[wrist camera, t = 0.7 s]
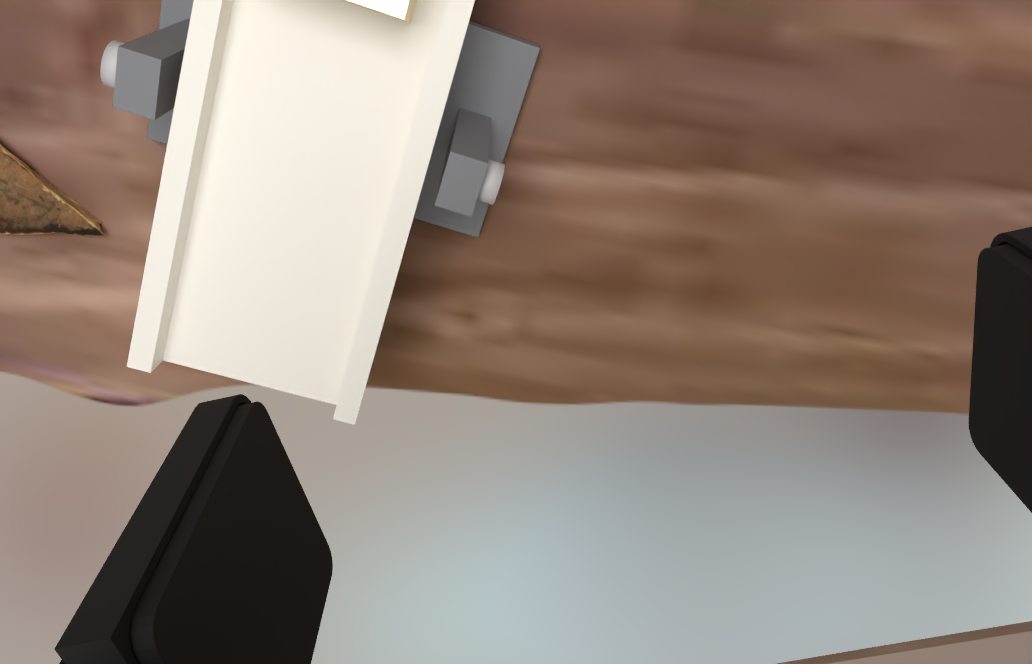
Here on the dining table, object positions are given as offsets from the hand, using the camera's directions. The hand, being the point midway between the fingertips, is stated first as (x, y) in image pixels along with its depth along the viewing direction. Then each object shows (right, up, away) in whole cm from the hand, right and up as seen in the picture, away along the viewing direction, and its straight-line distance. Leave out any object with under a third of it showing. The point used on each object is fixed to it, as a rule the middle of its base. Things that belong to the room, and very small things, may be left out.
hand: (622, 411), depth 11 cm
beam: (-10, +11, +27) cm, 31 cm away
